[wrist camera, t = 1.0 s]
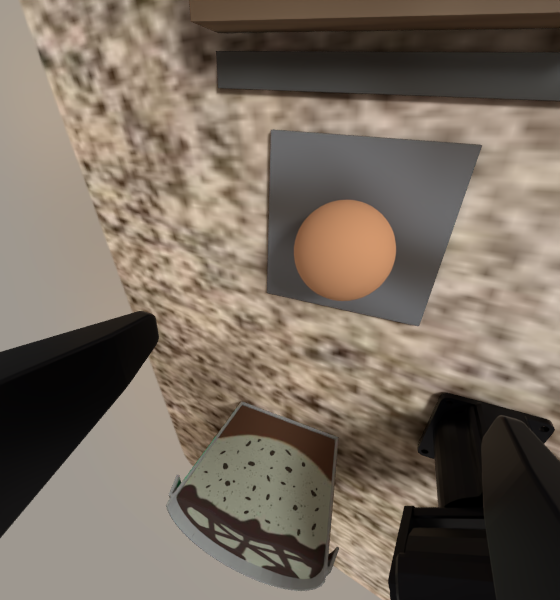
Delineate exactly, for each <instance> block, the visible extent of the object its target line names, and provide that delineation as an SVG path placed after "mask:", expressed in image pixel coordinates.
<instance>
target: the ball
mask: <svg viewBox="0 0 560 600" xmlns="http://www.w3.org/2000/svg"><path fill="white" fill-rule="evenodd" d="M395 256H396V242H395V236H394V233H393V230H392V228H391V226H390V224H389V223H388V221H387V220H386V218H385V217H384V216H383V215H382V214H381V213H380V212H379V211H378V210H377V209H375V208H374V207H372V206H370V205H368V204H366V203H363V202H360V201H356V200H338V201H333V202H330V203H327V204H325V205H323V206H321V207H319V208H318V209H316V210H315V211H313V212H312V213H311V214H310V215H309V216H308V217H307V218H306V219H305V221H304V222H303V224H302V225H301V227H300V228H299V231H298V233H297V236H296V240H295V244H294V259H295V264H296V268H297V270H298V273H299V275H300V276H301V278H302V280H303V281H304V283H305V284H306V285H307V286H308V287H309V288H310V289H311V290H313V291H314V292H315V293H317V294H319V295H320V296H322V297H325V298H328V299H331V300H336V301H350V300H355V299H359V298H362V297H364V296H367V295H369V294H370V293H372V292H373V291H375V290H376V289H377V288H378V287H380V286H381V285H382V283H383V282H384V281H385V280H386V278H387V277H388V275H389V274H390V272H391V270H392V267H393V264H394V261H395Z"/></svg>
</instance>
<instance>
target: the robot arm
mask: <svg viewBox="0 0 560 600" xmlns="http://www.w3.org/2000/svg"><path fill="white" fill-rule="evenodd" d="M158 339H159V334H158V328H157V323H156V318H155V316H154V315H153V314H151V313H148V312H144V311H138V312H134V313H131V314H128V315H124V316H121V317H118V318H114V319H111V320H108V321H104V322H100V323H97V324H94V325H90V326H87V327H84V328H80V329H77V330H73V331H70V332H67V333H63V334H60V335H56V336H53V337H50V338H46V339H43V340H40V341H36V342H33V343H29V344H26V345H22V346H19V347H16V348H13V349H9V350H5V351H2V352H0V538H1V537H2V535H3V534H4V533H5V532H6V531H7V530H8V528H9V527H10V526H11V525H12V524H13V522H14V521H15V520H16V519H17V518H18V516H19V515H20V514H21V513H22V511H24V509H25V508H26V507H27V506H28V505H29V503H30V502H31V501H32V500H33V499H34V497H35V496H36V495H37V494H38V493H39V491H40V490H41V489H42V488H43V487H44V485H45V484H46V483H47V482H48V481H49V480H50V478H51V477H52V476H53V475H54V474H55V472H56V471H57V470H58V469H59V468H60V466H61V465H62V464H63V463H64V462H65V460H66V459H67V458H68V457H69V456H70V454H71V453H72V452H73V451H74V450H75V449H76V447H77V446H78V445H79V444H80V443H81V441H82V440H83V439H84V438H85V437H86V435H87V434H88V433H89V432H90V431H91V429H92V428H93V427H94V426H95V425H96V424H97V422H98V421H99V420H100V419H101V418H102V416H103V415H104V414H105V413H106V412H107V410H108V409H109V408H110V407H111V406H112V404H113V403H114V402H115V401H116V400H117V399H118V397H119V396H120V395H121V394H122V393H123V391H124V390H125V389H126V387H127V386H128V385H129V384H130V382H131V381H132V379H133V378H134V377H135V375H136V374H137V372H138V371H139V369H140V368H141V366H142V365H143V363H144V362H145V361H146V359H147V358H148V356H149V355H150V353H151V352H152V350H153V349H154V347H155V346H156V344H157V342H158ZM447 400H450V401H447ZM543 426H545V427H543ZM554 430H555V429H554V427H553V424H552V422H551V421H550V420H547V419H544V418H540V417H537V416H533V415H529V414H525V413H522V412H518V411H514V410H510V409H506V408H503V407H499V406H495V405H491V404H488V403H484V402H480V401H476V400H473V399H469V398H465V397H461V396H458V395H454V394H450V393H445V394H442V395H441V396H440V398H439V400H438V402H437V404H436V407H435V409H434V411H433V413H432V415H431V417H430V420H429V422H428V424H427V426H426V428H425V430H424V433H423V435H422V437H421V439H420V441H419V443H418V453H420V454H421V455H423V456H426V457H429V458H433V459H435V471H436V484H437V497H438V507H414V506H404V510H403V515H402V519H401V523H400V528H399V532H398V537H397V542H396V546H395V551H394V555H393V560H392V564H391V569H390V574H389V579H388V584H389V589H390V599H391V600H560V461H559V460H558V459H557V458H556V457H555V456H554V455H553V453H552V452H551V451H550V450H549V449H548V448H547V447H546V446H545V445H544V443H545V442H546V441H547V440H548V438H549V437H550V436H551V435H552V434H553V432H554Z"/></svg>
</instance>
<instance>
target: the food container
mask: <svg viewBox="0 0 560 600" xmlns="http://www.w3.org/2000/svg"><path fill="white" fill-rule="evenodd" d="M338 438H339V437H336V436H334V435H331V434H328V433H325V432H323V431H320V430H317V429H315V428H312V427H309V426H307V425H304V424H301V423H299V422H296V421H293V420H290V419H288V418H285V417H282V416H280V415H277V414H274V413H272V412H269V411H266V410H264V409H261V408H258V407H255V406H253V405H250V404H247V403H245V402H242V401H241V402H240V404H239V405H238V406H237V408H236V409H235V411H234V412H233V413H232V415H231V416H230V417H229V419H228V420H227V421H226V423H225V424H224V425H223V427H222V428H221V430H220V431H219V432H218V434H217V435H216V436H215V438H214V439H213V440H212V442H211V443H210V445H209V446H208V447H207V449H206V450H205V451H204V453H203V454H202V455H201V457H200V458H199V460H198V461H197V462H196V464H195V465H194V466H193V468H192V469H191V470H190V472H189V473H188V475H187V476H186V477H185V479H184V480H183V481H182V483H181V481H180V477H179V475H177V476H176V478H175V481H174V483H173V485H172V488H171V490H170V493H169V497H170V500H169V501H168V503H167V505H166V507H167V510H168V513H169V514H170V516H171V518H172V520H173V521H174V522H175V524H176V525H177V526H178V528H179V529H180V530H181V531H182V532H183V533H184V534H185V535H186V536H187V537H188V538H189V539H190V540H191V541H192V542H193V543H195V544H196V545H197V546H198V547H199V548H201V549H202V550H203V551H205V552H206V553H207V554H209V555H210V556H212V557H213V558H215V559H216V560H218V561H219V562H221V563H223V564H224V565H226V566H228V567H230V568H231V569H233V570H235V571H237V572H239V573H241V574H243V575H245V576H247V577H250V578H252V579H254V580H257V581H259V582H262V583H265V584H268V585H271V586H275V587H279V588H283V589H288V590H296V591H307V590H313V589H316V588H318V587H320V586H322V584H323V583H324V582H325V578H326V576H327V575H328V574H329V573H330V572H331V570H332V567H333V564H334V561H335V558H336V556H337V553H338V550H339V548H338V547H336V548H335V550H334V551H333V552H331V553H330V554H329V543H330V531H331V519H332V508H333V496H334V485H335V473H336V462H337V450H338Z"/></svg>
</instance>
